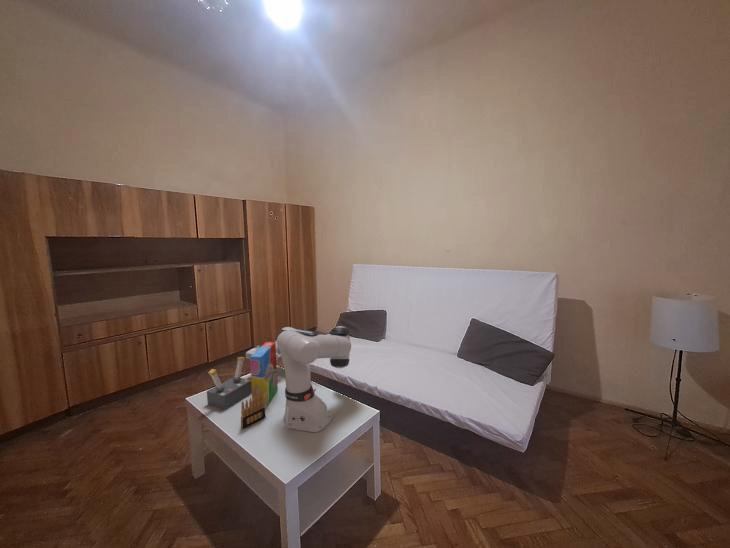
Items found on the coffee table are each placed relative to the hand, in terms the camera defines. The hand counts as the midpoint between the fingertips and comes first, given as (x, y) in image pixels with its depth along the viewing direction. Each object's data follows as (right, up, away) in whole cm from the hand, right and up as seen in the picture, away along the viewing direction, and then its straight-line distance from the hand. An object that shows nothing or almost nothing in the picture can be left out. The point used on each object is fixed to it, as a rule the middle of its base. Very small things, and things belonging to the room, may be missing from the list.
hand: (251, 361), depth 159 cm
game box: (+13, -16, -14) cm, 25 cm away
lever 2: (-4, -8, -10) cm, 13 cm away
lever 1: (-8, -9, -18) cm, 21 cm away
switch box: (-6, -15, -12) cm, 21 cm away
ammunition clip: (+14, -18, -32) cm, 39 cm away
